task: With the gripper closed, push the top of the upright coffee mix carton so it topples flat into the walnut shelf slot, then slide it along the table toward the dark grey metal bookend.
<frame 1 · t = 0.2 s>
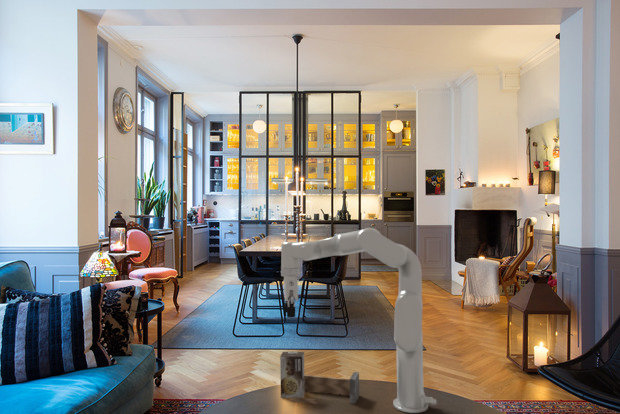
hand: (289, 314, 169), 31 cm above the table, fingers open, 9 cm apart
book slot: (315, 397, 163), on the table
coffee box: (292, 395, 166), on the table
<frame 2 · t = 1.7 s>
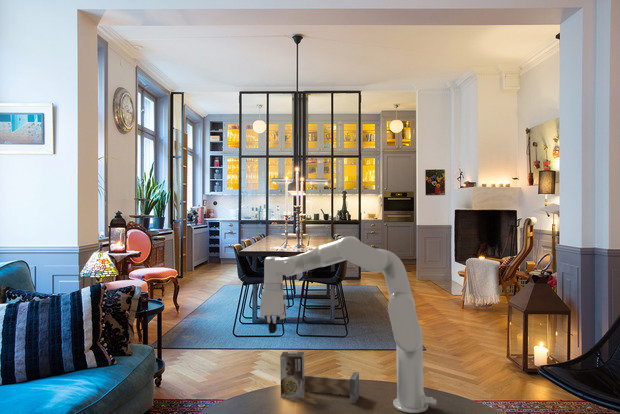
hand: (272, 332, 170), 24 cm above the table, fingers closed
nothing on the table moved.
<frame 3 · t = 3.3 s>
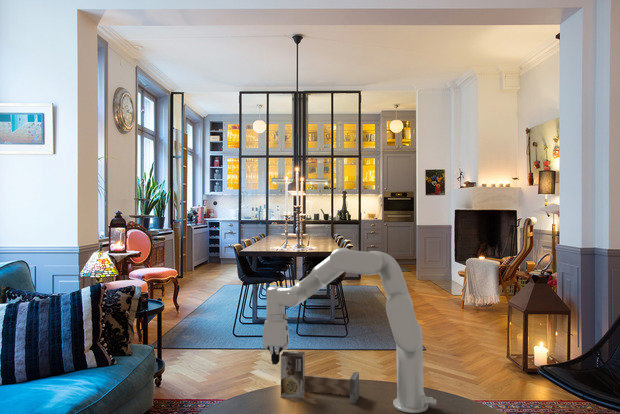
hand: (275, 363, 169), 12 cm above the table, fingers closed
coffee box: (292, 395, 166), on the table, touching gripper
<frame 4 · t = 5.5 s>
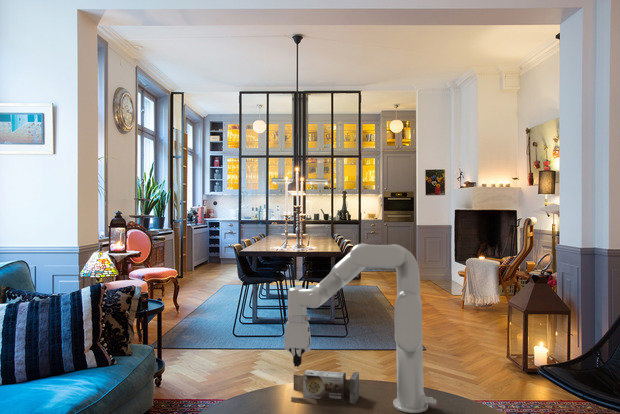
hand: (297, 365, 166), 12 cm above the table, fingers closed
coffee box: (304, 383, 166), point 5 cm above the table
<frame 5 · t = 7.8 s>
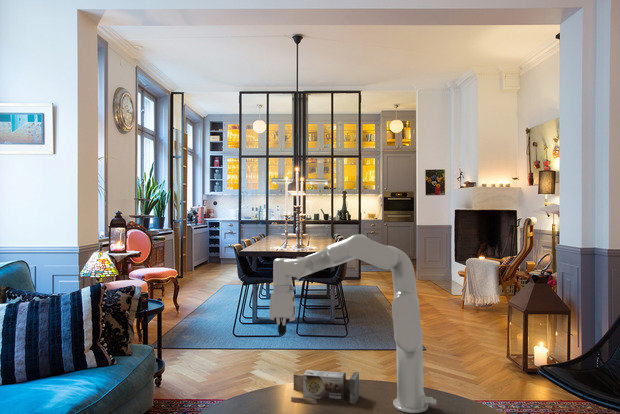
hand: (282, 334, 168), 23 cm above the table, fingers closed
nothing on the table moved.
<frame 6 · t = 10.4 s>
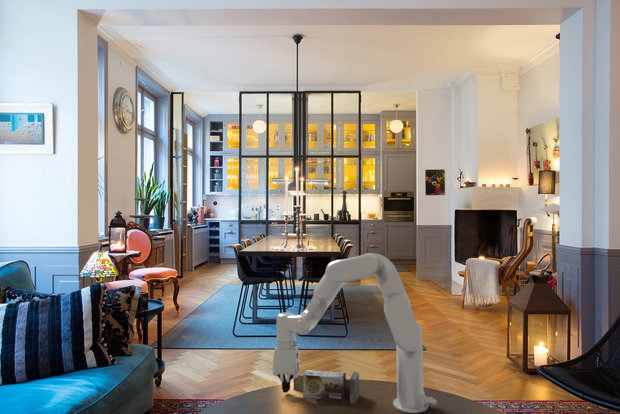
hand: (286, 391, 167), 1 cm above the table, fingers closed
nothing on the table moved.
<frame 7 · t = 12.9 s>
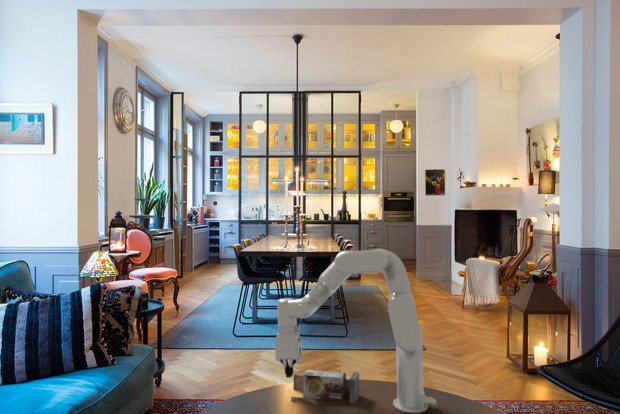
hand: (289, 376, 167), 7 cm above the table, fingers closed
nothing on the table moved.
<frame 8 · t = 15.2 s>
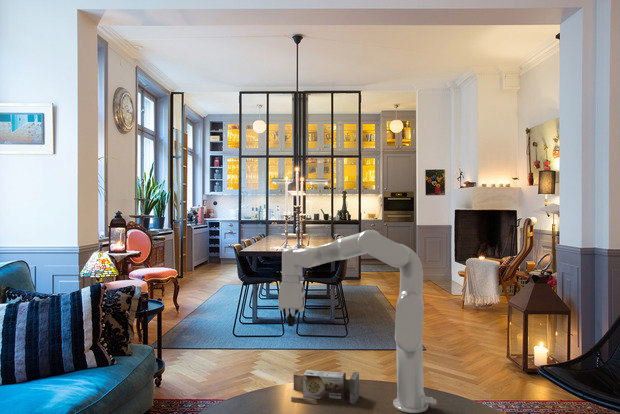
hand: (291, 325, 168), 27 cm above the table, fingers closed
nothing on the table moved.
at the end: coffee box tilted 91°; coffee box inside the target area (6.6 cm from its centre), point 4.6 cm above the table; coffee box moved 6.5 cm from its start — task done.
